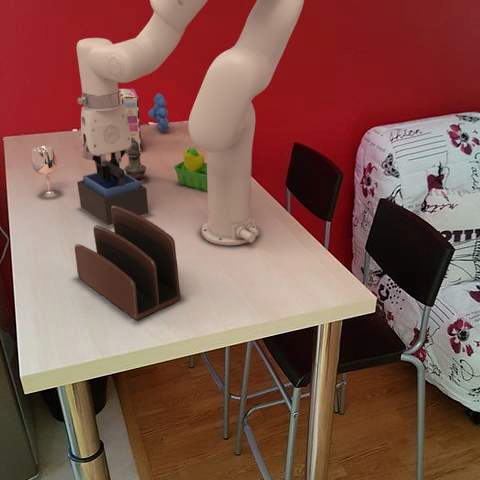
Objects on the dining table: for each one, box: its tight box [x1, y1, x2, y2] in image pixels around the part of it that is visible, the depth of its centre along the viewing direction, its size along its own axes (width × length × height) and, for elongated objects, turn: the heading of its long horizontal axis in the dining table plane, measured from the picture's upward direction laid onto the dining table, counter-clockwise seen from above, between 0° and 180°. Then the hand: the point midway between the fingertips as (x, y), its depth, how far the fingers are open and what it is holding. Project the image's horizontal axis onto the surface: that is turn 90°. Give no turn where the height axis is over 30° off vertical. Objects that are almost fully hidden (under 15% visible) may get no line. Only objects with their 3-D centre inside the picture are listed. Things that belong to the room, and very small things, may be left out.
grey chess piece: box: [123, 137, 147, 181], centre depth 153 cm, size 6×6×12 cm
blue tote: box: [82, 159, 140, 198], centre depth 136 cm, size 11×9×12 cm
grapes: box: [147, 92, 170, 133], centre depth 191 cm, size 12×7×12 cm, turn 22°
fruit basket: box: [173, 147, 208, 192], centre depth 152 cm, size 11×9×11 cm
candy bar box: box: [118, 88, 143, 153], centre depth 176 cm, size 11×5×16 cm, turn 17°
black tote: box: [77, 179, 149, 226], centre depth 137 cm, size 13×11×7 cm
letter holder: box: [74, 205, 181, 321], centre depth 107 cm, size 10×20×14 cm, turn 46°
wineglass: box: [30, 145, 58, 195], centre depth 143 cm, size 6×6×12 cm
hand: (110, 178), depth 135 cm, fingers closed on blue tote
